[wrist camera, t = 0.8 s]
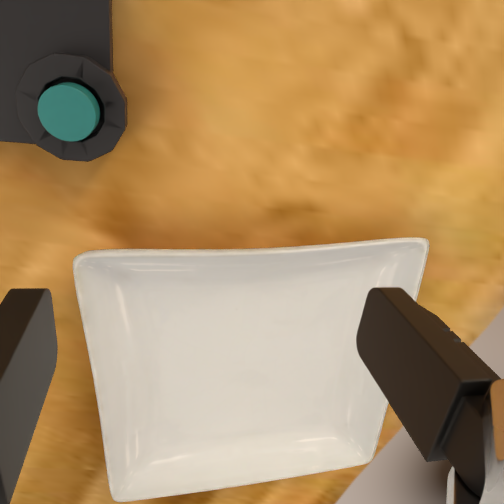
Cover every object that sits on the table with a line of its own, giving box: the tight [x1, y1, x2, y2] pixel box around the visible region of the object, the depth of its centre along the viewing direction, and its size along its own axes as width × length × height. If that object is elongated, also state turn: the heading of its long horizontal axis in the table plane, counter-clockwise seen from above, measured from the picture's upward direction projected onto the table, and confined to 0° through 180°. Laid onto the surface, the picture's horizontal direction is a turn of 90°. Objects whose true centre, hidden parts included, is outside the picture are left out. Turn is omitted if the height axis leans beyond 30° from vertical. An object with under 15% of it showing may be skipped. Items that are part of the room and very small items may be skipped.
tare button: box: [38, 82, 100, 142], centre depth 23 cm, size 3×3×2 cm
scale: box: [0, 0, 127, 162], centre depth 22 cm, size 14×13×3 cm
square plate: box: [73, 237, 429, 502], centre depth 37 cm, size 27×27×4 cm
